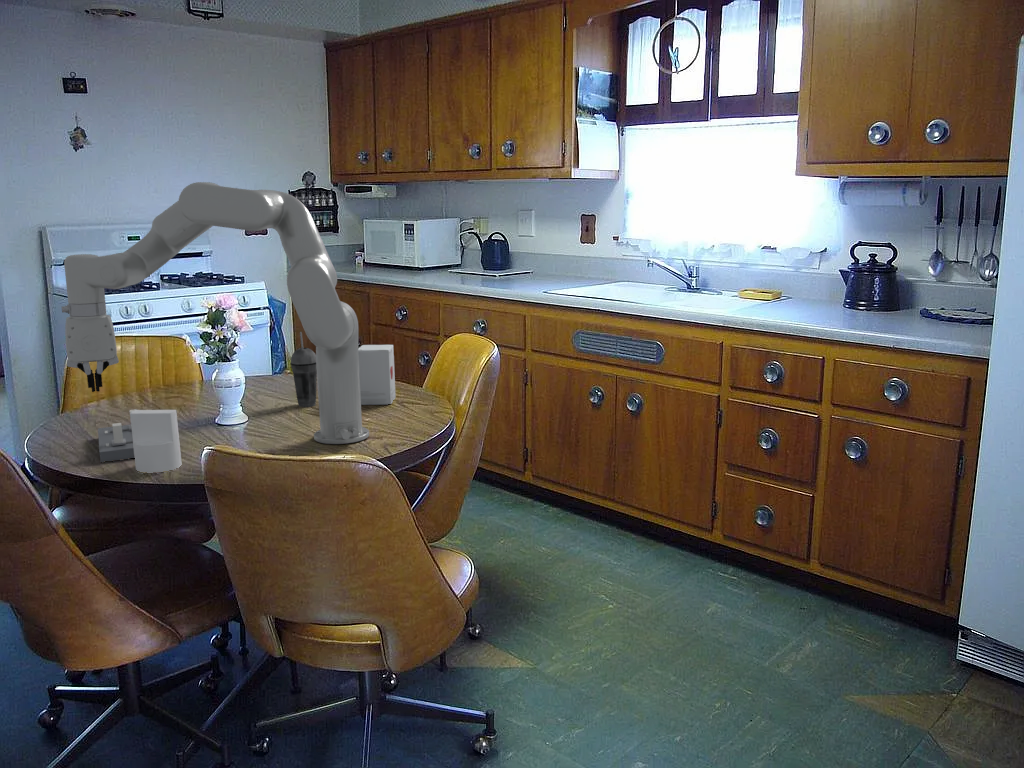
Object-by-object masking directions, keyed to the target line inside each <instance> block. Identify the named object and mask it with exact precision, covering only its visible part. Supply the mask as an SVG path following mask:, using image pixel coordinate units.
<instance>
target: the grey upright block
mask: <svg viewBox="0 0 1024 768" xmlns="http://www.w3.org/2000/svg"><path fill="white" fill-rule="evenodd" d="M129 418H130V419H131V421H130V425H131V428H132V437H133V448H134V457H135V459H134V464H135V465H134V466H135V471H136V470H137V471H140V472H147V473H153V472H163V471H169V470H173V471H175V470H177V469H176V468H178V469H179V467H180V466H181V465H182V466H183V463H182V453H181V445H180V435H179V434H180V433H179V424H178V413H177V409H138V410H135V411H133V412H131V413H130V412H129ZM130 419H129V420H130ZM182 466H181V467H182ZM181 467H180V468H181ZM174 469H175V470H174ZM137 471H136V472H137ZM169 472H170V471H169Z"/></svg>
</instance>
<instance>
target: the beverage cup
mask: <svg viewBox="0 0 1024 768" xmlns="http://www.w3.org/2000/svg"><path fill="white" fill-rule="evenodd" d="M299 339H300V346H301V347H299V348H297V349H296V350H294V352H293V353H292V355H291V357H290V363H289V364H290V366H291V367H290V368H291V372H292V376H293V382H294V388H295V393H296V401H297V403H298V404H297V405H298V407H299V408H310V407H311V408H312V407H315V406H316V405H317V404H316V403H317V367H316V352H314V351H313V350H312V349H311V348H309V347H304V341H303V332H302V331H300V332H299Z"/></svg>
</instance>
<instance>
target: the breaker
mask: <svg viewBox="0 0 1024 768" xmlns="http://www.w3.org/2000/svg"><path fill="white" fill-rule="evenodd" d="M111 425H112V426H111V427H113V436H114V440H112V446H116V445H124V444H126V440H125V439H123V434H122V426H123V425H122V422H117V423H116V422H115V423H112V424H111Z"/></svg>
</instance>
